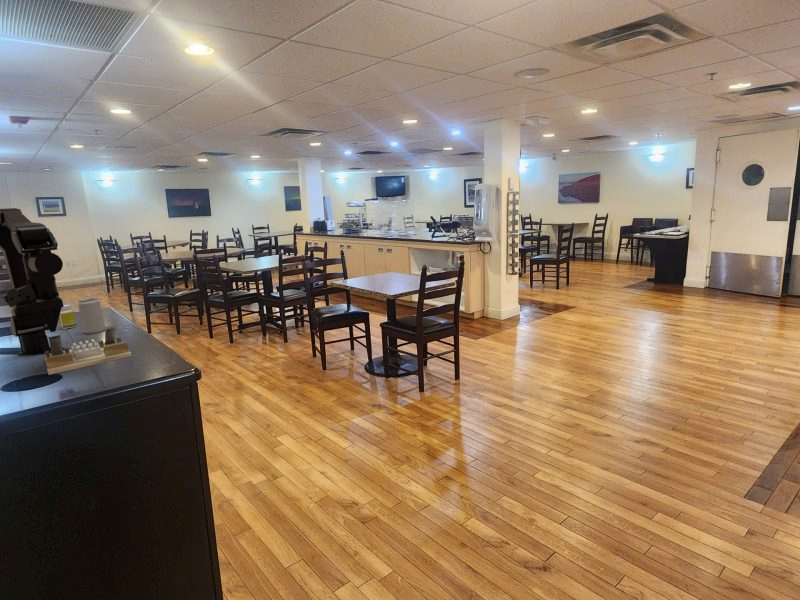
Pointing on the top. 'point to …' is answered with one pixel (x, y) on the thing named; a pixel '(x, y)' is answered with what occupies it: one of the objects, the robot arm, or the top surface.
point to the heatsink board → (87, 361)
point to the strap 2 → (110, 335)
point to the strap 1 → (56, 345)
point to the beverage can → (91, 315)
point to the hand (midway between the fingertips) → (53, 331)
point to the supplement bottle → (67, 317)
